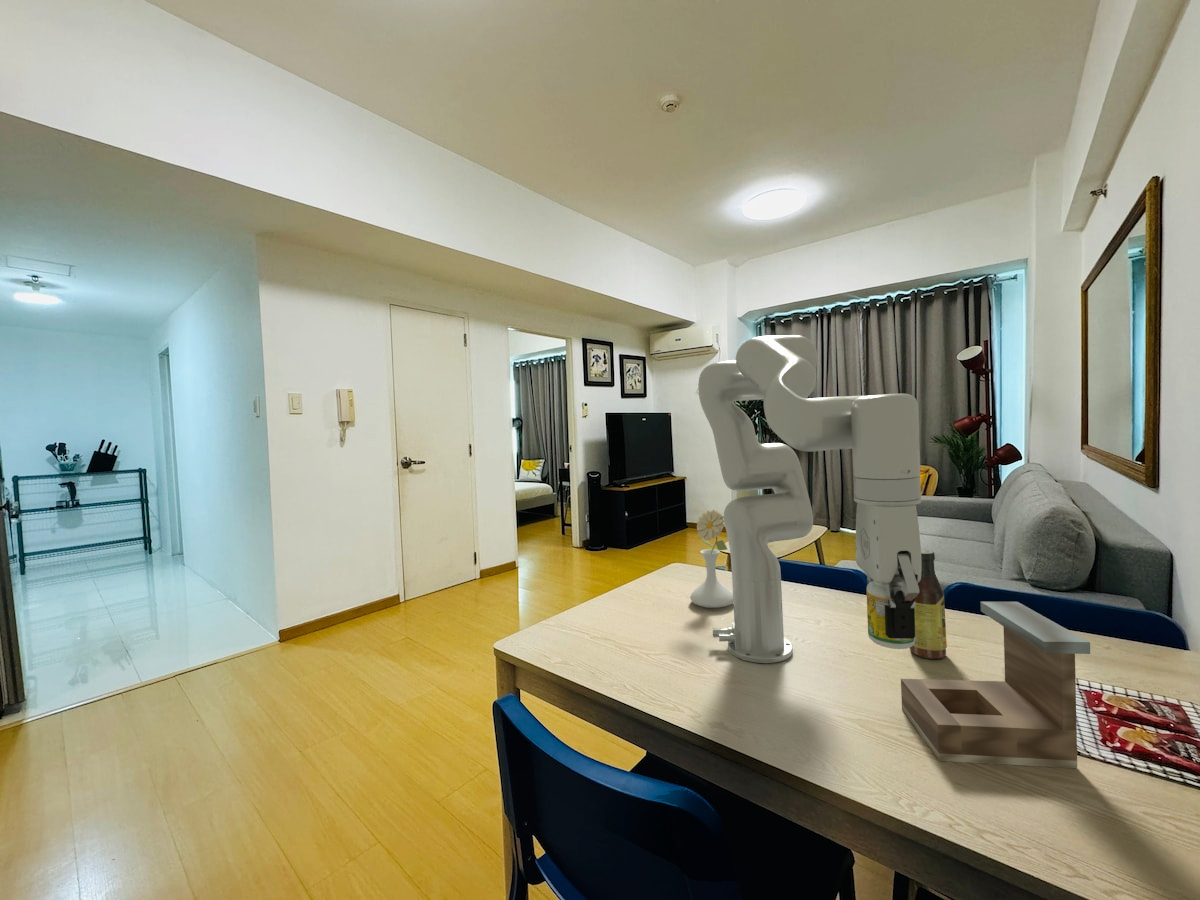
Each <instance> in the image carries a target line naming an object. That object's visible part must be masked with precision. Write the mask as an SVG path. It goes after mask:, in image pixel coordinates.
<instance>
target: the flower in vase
mask: <svg viewBox="0 0 1200 900" xmlns="http://www.w3.org/2000/svg"><path fill="white" fill-rule="evenodd" d="M724 527H725V524H724V515H722V513H720V512H718V511H717V510H715V509H712V510H711V511H710V510H707V511H706V512H703V513H702V515H701V516H699V517H698V521H697V522H696V531H697V533H696V534H697V536H698V537H700V539H701V541H702V542H703V543H704V544H706V545H708V546H709V547H711V548H706V549H701V550H700V551H699V552H700V554H701V556H702V557H703V560H704V562H705V568H706V578H705V580H704V582H703V583H701V584H700V585H698V586H697V587H696V588H695V589H694V590H693V591H692V592H691V594H690V597H689V598H690V601H692V603H693V604H694V605H696V606H700V607H703V608H710V609H718V608H719V609H720V608H724V607H727V606H731V605H732V604H734V603H733V591H732V590H731V589H730V588H728V587H727V586H726V585H724V584H722V582H720V581H719V580H718V578H717V573H716V563H717V557H718V556H719V554H720V552H721V551H726V550H727V551H728V548H727V545H726V543H725V541H724V540H722V539H720V540H718V537H719V536H720V533H722V531H723V530H724ZM711 539H715V542H714V545H713V544H712V543H711V542H710V540H711ZM715 547H716V548H717V549H715Z"/></svg>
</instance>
